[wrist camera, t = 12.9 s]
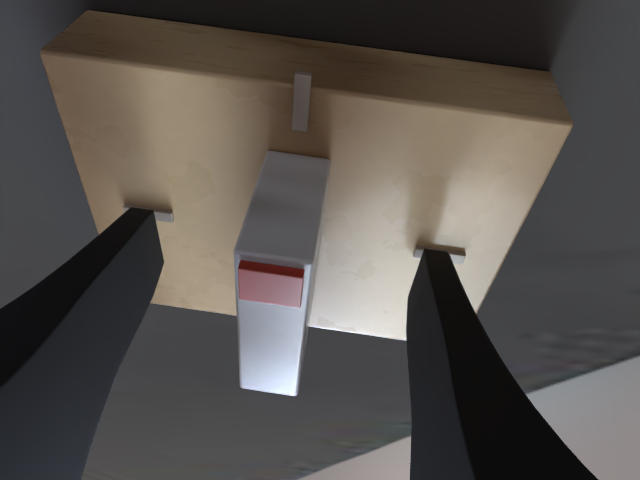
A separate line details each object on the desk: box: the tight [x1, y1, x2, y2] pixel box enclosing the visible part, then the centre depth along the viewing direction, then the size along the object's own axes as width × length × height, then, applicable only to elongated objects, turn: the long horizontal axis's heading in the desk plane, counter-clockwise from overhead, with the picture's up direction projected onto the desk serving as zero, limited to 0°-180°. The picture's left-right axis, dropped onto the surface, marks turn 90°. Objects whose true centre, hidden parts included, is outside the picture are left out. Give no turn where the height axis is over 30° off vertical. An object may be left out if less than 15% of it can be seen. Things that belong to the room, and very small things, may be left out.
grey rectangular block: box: [234, 151, 331, 396], centre depth 13 cm, size 6×2×4 cm, turn 175°
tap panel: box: [40, 10, 573, 341], centre depth 15 cm, size 12×10×3 cm
